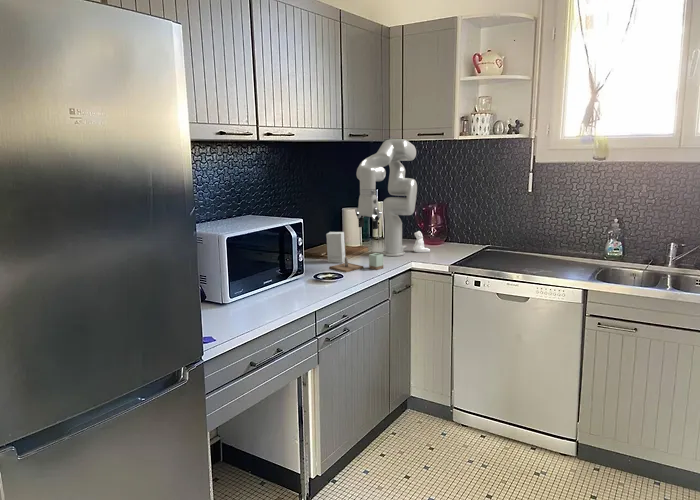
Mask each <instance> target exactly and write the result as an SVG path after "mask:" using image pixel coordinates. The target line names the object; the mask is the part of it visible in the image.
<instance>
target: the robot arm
mask: <svg viewBox="0 0 700 500" xmlns="http://www.w3.org/2000/svg"><path fill="white" fill-rule="evenodd" d="M416 156H417V149H416V146H415V145H414V144H412V143H411V142H410V141H408V140H406V139H403V138H401V139H400V138H399V139H397V138H395V139H392V138H391V139H387V140H385V141H383V142H382V144H381V145H380V147H379V149H378V150H377V152H376V153H374V154H372V155H370V156H368V157H366V158H365V159H363V160H362V161H361V162H360V163H359V165H358V167H357V168H356V178H357V179H358V180H359V198H358V206H357V208H356V209H354V211H355V215H356V217H357V218H356V219H357V220H358V228H364V227H365V219H364V217H369V218H371V219H372V222H371V223H372V226H371V227H372V230H377V229H379V221H380V218H381V215H382V211H383V217H384V250H383V251H382V252H381V254H383V256H387V257H399V256H404V255H405V254H406V252H405V251H404V250H405V249H406V250H407V249H408V245H403V222H402V219H401V218H400V216H412V215H413V214H414V212H415V209H416V202H417V194H418V193H417V192H418V184H417V181H416V179H414V178H409V177H406V168H405V166H404V165H403V163H401V161H404V162H405V161H407V162H409V161H413V160H414V159H415V158H416ZM415 160H416V159H415ZM387 166H389V176H388V184H387V191H388V193H389V195H391V196H390V197H385V199H384V200H383V203H382V209H383V210H382V211H380V208H379V201H378V196H377V195H376V194H377V191H376V185H377V184H376V182H382V181H384V179H385V178H386V174H387V171H386V168H384V167H387ZM394 196H395V197H394ZM399 196H400V197H399ZM401 196H403V197H401Z"/></svg>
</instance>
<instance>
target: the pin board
mask: <svg viewBox="0 0 700 500" xmlns="http://www.w3.org/2000/svg"><path fill="white" fill-rule="evenodd" d="M364 267H365V266H364V265H360V264H355V263H352V262H351V263H350V262H349V257H347V256H345V261H344V262H343V263H338V264H335V265H331V266H329V267H328V268H329V269H330V270H334V271H338V272H343V273H349V272H350V273H351V272H353V271H357V270H362V269H364Z"/></svg>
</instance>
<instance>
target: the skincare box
mask: <svg viewBox="0 0 700 500" xmlns="http://www.w3.org/2000/svg"><path fill="white" fill-rule="evenodd" d="M325 237H326V248H327V249H326V252H327V263H329V264H331V263H333V264H334V263H337V264H343V263H345V257H346V248H345V247H346V244H345V231H329V232H327V233H326V234H325Z"/></svg>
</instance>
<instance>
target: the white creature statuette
mask: <svg viewBox="0 0 700 500" xmlns="http://www.w3.org/2000/svg"><path fill="white" fill-rule="evenodd" d="M414 237H415V238H416V240H415V243H414V245H413V247H412V250H413V252H414V253H418V254H421V253H424V254H425V253H426V254H429V253H431V249H430V248H428V247H425V242H424V236H423V233H422V232H421V231H420V230H418V231H416V232H414Z"/></svg>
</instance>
